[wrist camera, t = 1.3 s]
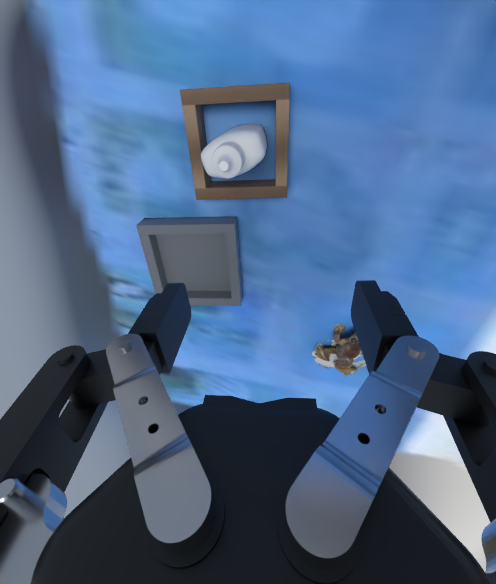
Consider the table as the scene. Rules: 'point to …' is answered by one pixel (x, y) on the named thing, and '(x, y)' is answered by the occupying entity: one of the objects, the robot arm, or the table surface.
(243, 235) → the table surface
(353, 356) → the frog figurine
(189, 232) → the tray
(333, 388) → the table surface
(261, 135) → the eye dropper bottle
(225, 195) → the holder collar
